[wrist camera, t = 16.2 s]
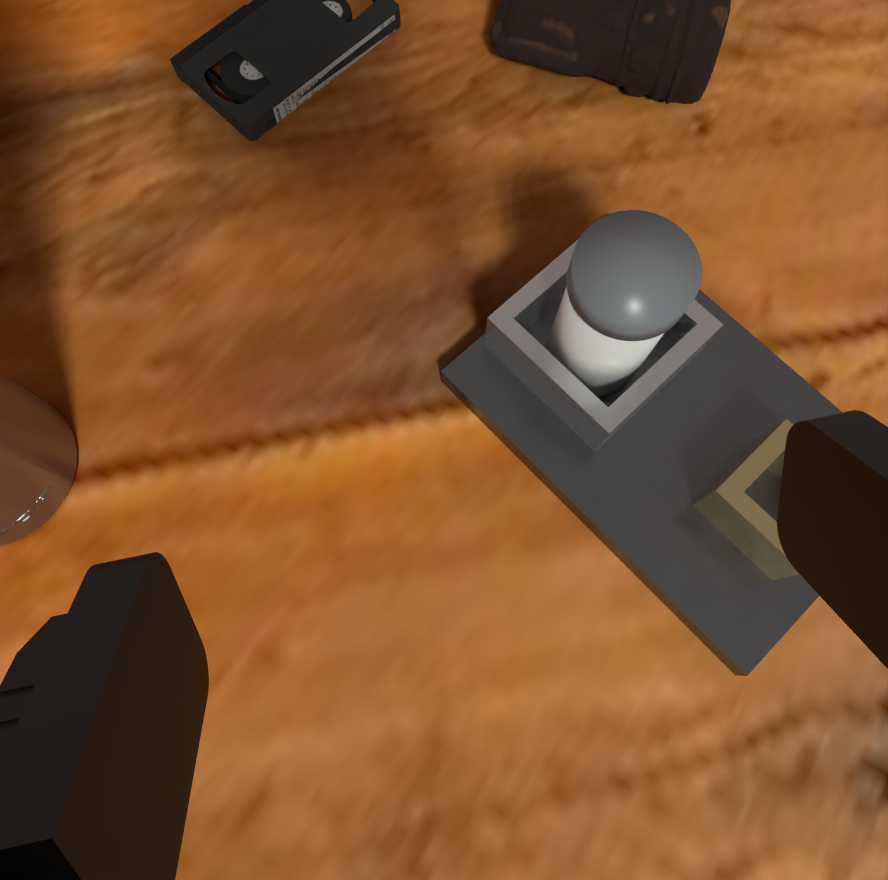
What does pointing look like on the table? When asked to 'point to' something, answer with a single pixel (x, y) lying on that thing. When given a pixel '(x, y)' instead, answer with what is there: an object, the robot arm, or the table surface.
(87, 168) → the table surface
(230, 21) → the vhs tape
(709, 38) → the pipe
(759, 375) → the plate
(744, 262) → the table surface
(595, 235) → the grey and white cylinder
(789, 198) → the table surface
